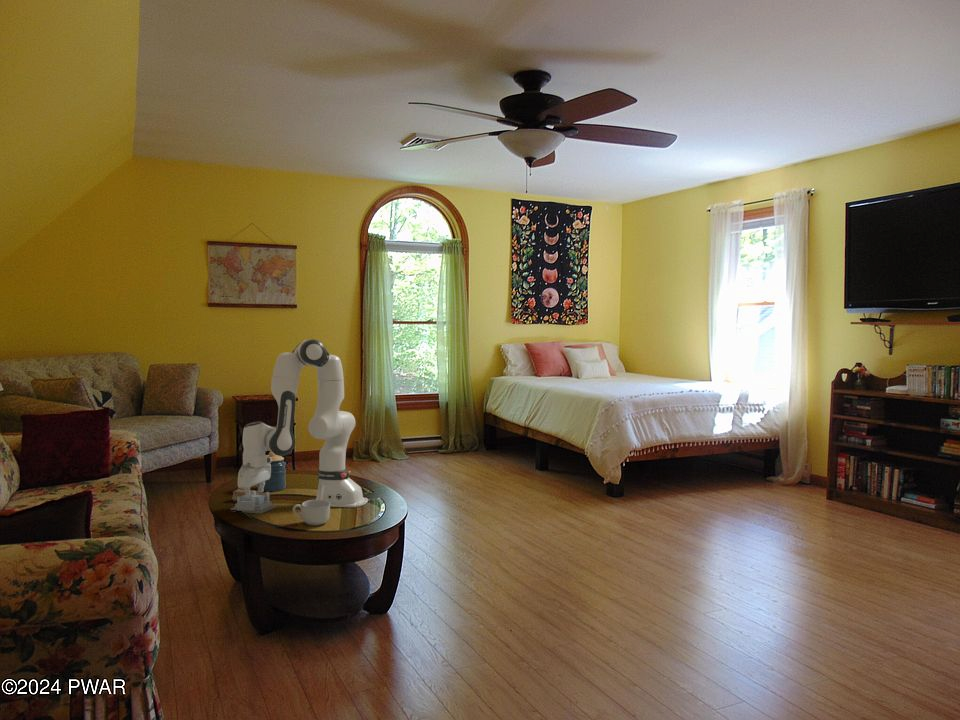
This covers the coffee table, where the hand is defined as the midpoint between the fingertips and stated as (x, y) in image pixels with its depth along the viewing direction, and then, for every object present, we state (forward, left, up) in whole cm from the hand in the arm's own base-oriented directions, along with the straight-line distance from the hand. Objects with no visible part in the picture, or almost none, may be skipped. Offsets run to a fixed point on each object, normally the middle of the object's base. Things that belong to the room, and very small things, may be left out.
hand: (254, 494), depth 274 cm
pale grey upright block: (+1, -1, -5) cm, 5 cm away
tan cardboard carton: (+12, -12, -6) cm, 18 cm away
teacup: (-32, +11, -6) cm, 35 cm away
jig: (+1, -1, -6) cm, 6 cm away
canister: (+14, -36, -6) cm, 39 cm away
